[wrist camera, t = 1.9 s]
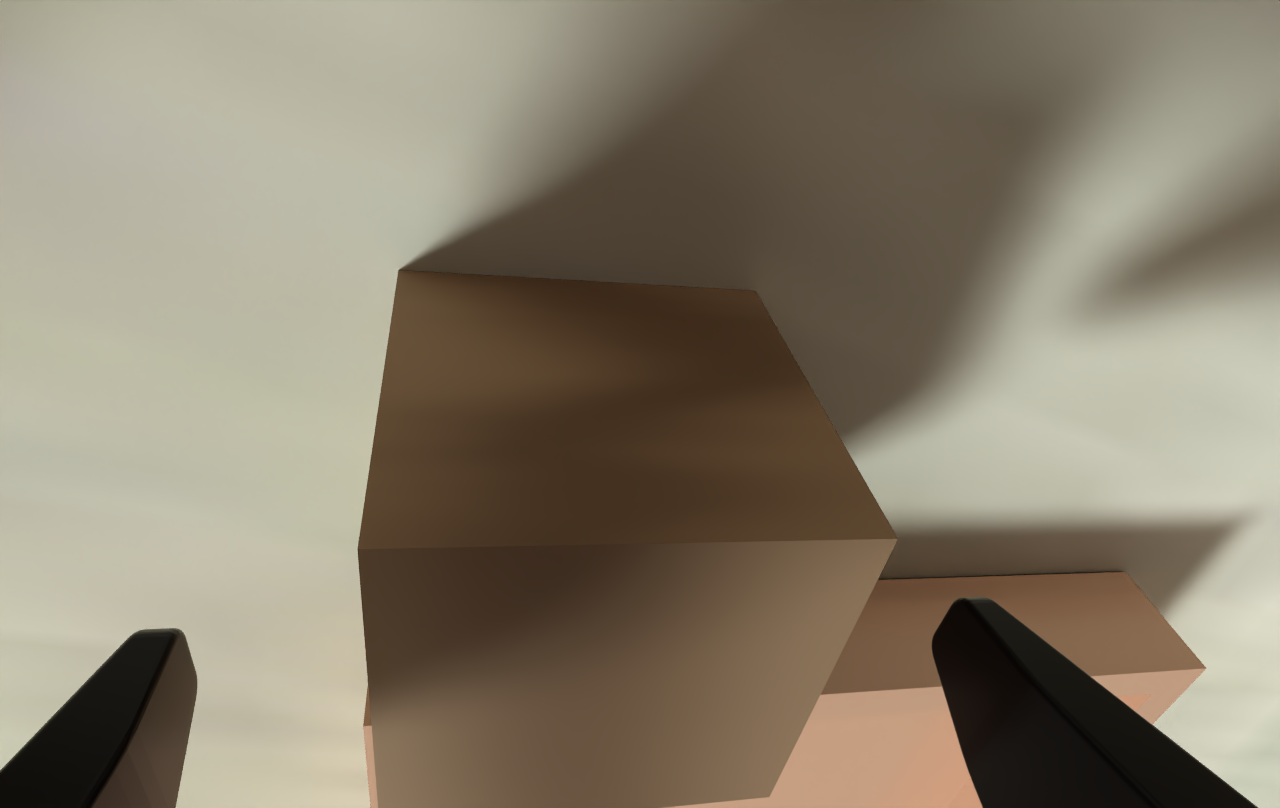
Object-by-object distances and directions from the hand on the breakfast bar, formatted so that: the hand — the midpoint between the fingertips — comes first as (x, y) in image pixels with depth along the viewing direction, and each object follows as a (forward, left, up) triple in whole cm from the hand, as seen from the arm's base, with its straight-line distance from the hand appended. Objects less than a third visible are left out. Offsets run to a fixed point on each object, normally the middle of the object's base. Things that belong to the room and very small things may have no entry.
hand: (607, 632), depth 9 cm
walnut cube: (0, 0, -4) cm, 4 cm away
